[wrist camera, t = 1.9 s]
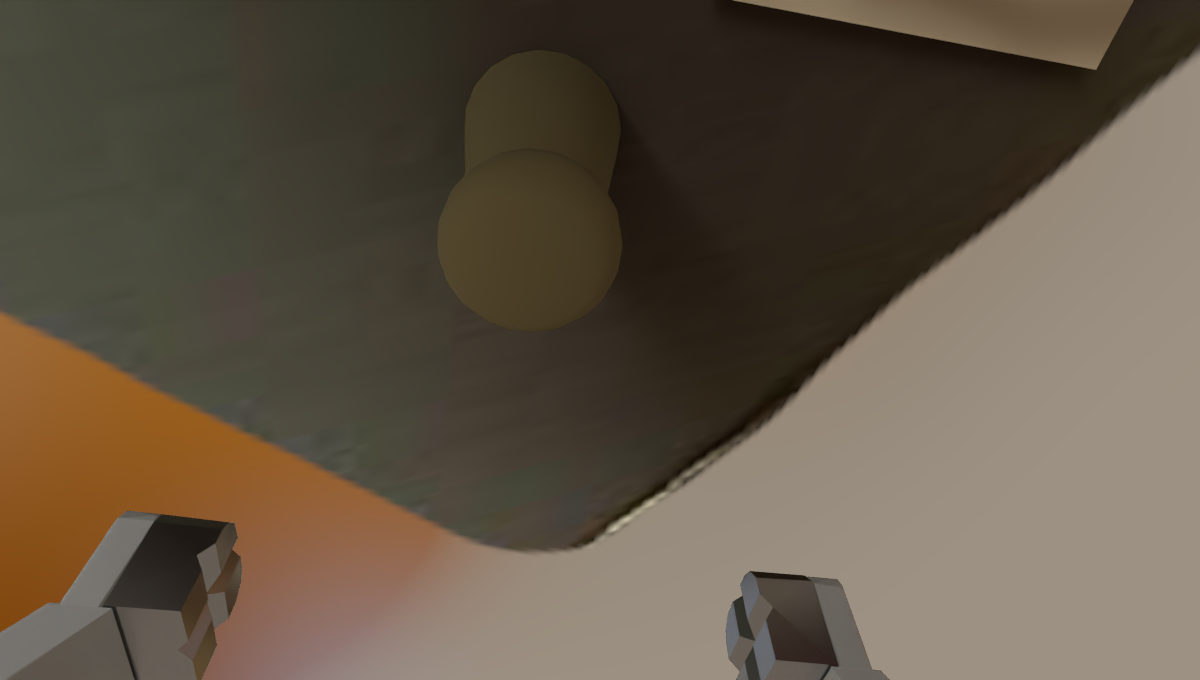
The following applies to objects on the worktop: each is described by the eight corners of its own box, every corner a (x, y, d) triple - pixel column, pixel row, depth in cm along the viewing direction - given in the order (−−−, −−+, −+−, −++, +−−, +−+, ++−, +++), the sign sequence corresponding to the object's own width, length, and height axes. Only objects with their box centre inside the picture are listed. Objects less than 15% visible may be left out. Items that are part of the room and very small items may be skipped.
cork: (482, 27, 26) (434, 133, 17) (642, 78, 28) (675, 204, 19) (450, 180, 30) (394, 337, 21) (594, 220, 31) (601, 385, 22)
